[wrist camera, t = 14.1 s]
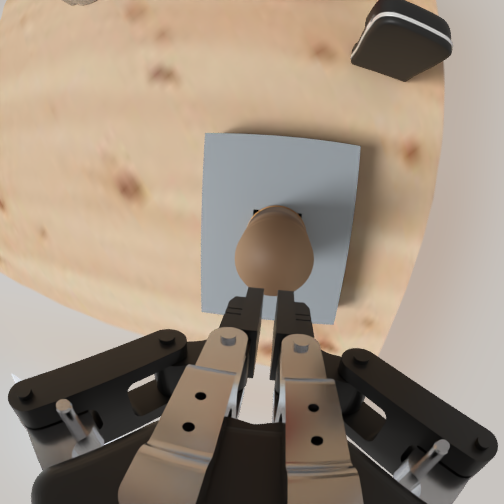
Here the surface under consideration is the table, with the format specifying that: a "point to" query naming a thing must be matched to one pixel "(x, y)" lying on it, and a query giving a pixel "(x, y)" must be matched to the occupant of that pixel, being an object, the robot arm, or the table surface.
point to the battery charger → (402, 40)
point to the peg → (274, 251)
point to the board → (284, 194)
